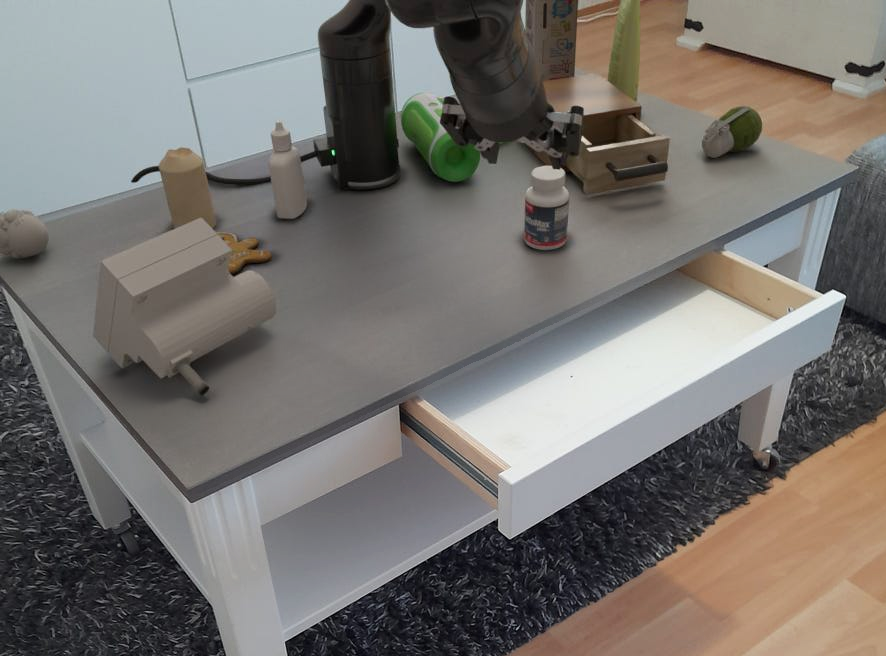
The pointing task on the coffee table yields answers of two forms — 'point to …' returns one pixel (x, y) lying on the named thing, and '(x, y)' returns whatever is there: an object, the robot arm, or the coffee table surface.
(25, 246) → the beige rounded lump
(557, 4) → the juice carton
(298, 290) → the coffee table surface
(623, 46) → the tube
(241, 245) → the cookie
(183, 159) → the candle
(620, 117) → the dresser drawer
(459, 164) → the speaker
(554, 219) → the pill bottle
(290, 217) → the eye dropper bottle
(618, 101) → the wooden mini dresser
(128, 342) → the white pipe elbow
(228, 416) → the coffee table surface
